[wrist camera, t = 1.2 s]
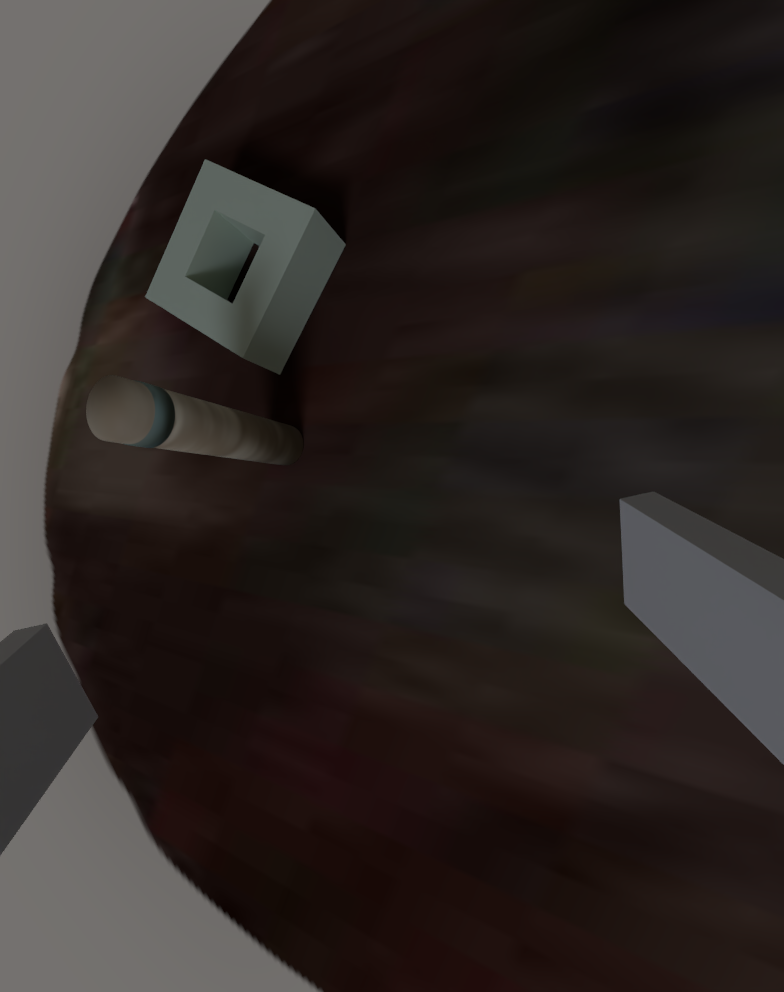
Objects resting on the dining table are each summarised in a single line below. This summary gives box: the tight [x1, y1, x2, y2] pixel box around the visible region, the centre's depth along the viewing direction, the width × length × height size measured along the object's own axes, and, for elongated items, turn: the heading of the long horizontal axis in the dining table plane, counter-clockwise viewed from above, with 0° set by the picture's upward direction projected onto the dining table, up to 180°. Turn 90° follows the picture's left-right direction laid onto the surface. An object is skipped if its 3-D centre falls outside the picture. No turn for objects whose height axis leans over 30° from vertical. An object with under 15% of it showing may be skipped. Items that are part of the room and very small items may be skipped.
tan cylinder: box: [86, 375, 303, 465], centre depth 29 cm, size 3×3×15 cm
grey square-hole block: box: [146, 159, 346, 375], centre depth 35 cm, size 11×11×4 cm
